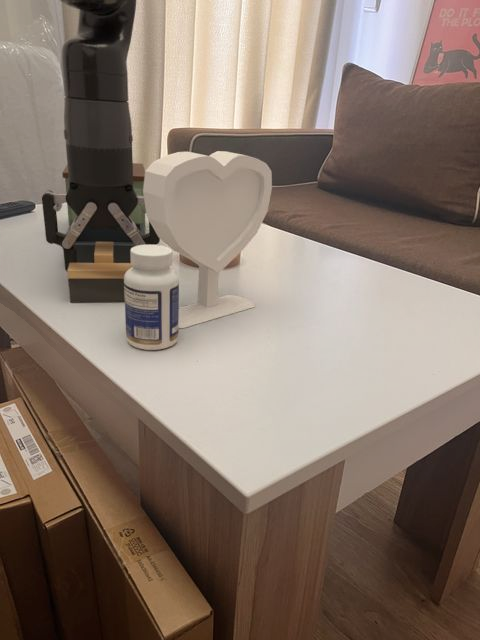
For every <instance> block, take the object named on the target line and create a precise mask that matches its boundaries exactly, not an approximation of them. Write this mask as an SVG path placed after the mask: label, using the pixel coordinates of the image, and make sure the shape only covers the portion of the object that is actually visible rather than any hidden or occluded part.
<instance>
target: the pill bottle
mask: <svg viewBox="0 0 480 640" xmlns="http://www.w3.org/2000/svg"><path fill="white" fill-rule="evenodd" d="M130 253H131V254H130V256H131V264H132V265H133V267H132V268H130V269H129V270H128V271H127V272H126V273H125V275H124V296H125V302H124V317H125V319H124V320H125V335H126V337H125V338H126V341H127V343H128V344H130V345H131V346H132V347H134V348H137V349H139V350H145V351H146V350H147V351H156V350H157V351H159V350H162V349H163V350H164V349H166V348H170V347H172V346H174V345H175V344H176V343H177V342H178V340H179V333H180V331H179V329H180V328H179V308H180V307H179V306H180V277H179V274H178V273H177V271H176V270H175V269H173V268H171V266H172V265H173V249H172V248H170V247H169V246H165V245H161V244H156V245H154V244H153V245H138V246H135V247H133V248H131V250H130Z"/></svg>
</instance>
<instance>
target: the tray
mask: <svg viewBox="0 0 480 640" xmlns="http://www.w3.org/2000/svg"><path fill="white" fill-rule="evenodd" d="M72 223H73V222H72V221H71V222H70V225H69V224H68V228H67V231H68V230H69V228H70V227H71V225H72ZM135 225H136V227H137V228H138V230H139V231H140V233H141V234H142V235H145V232H146V231H145V232H144V226H143V223H135ZM96 242H113V246H114V263H131V256H130V254H131V253H130V250H131V248H133V247H134V245H135V244H134V243H133V241H132V240H131V239H130V237H129V236H128V235H127V234H126V233H125V231H124V230H123V228H122V227H119V228H117V229H108V228H100V229H91V228H90V227H88V226H85V227H84V229H83V231H82V232H81V234H80V235H79V236H78V238H77V239H76V241H75V242H74V245H76V251H77V263H95V261H94V252H95V245H96Z"/></svg>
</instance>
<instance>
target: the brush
mask: <svg viewBox="0 0 480 640" xmlns="http://www.w3.org/2000/svg"><path fill="white" fill-rule="evenodd" d="M94 261H95V263H69V267H68V270H67V271H66V273H67V280H68V294H69V295H68V296H69V303H125V296H124V275H125V273H126V272H127V271H128V270H129V269H130V268H132V267H133V265H132V264H131V263H114V246H113V242H96V245H95V252H94Z"/></svg>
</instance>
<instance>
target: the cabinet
mask: <svg viewBox="0 0 480 640" xmlns="http://www.w3.org/2000/svg"><path fill="white" fill-rule="evenodd" d="M145 171H146V169H145V166H144V164H143V163H140V162H139V163H138V162H136V163H135V162H133V189H134V191H135V193H136V195H137V196H144V195H143V187H144V178H145ZM62 178H63V179H64V181H65V182H64V183H65V193H67V192H68V189H69V177H68V165H67V164H66V166H65V168H64V169H63V171H62ZM66 204H67V203H66ZM66 208H67V218H68V220H67V221H68V226H69V225H70V222H71V221H72V222H73V221H74V220H75V218H76V217H77V215H76V214H75V212H74V211H73V210H72V209H71V208H70V206H69V205H68V204H67V205H66ZM130 218H131V219H132V221H133V222H134V223H143V226H144V232H145V234H147V233H146V213H145V212H144V211H143V208H142V206H141V205H139V204H137V206H136V208H135V209H134V210H133V212H132V213H131V215H130Z"/></svg>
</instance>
